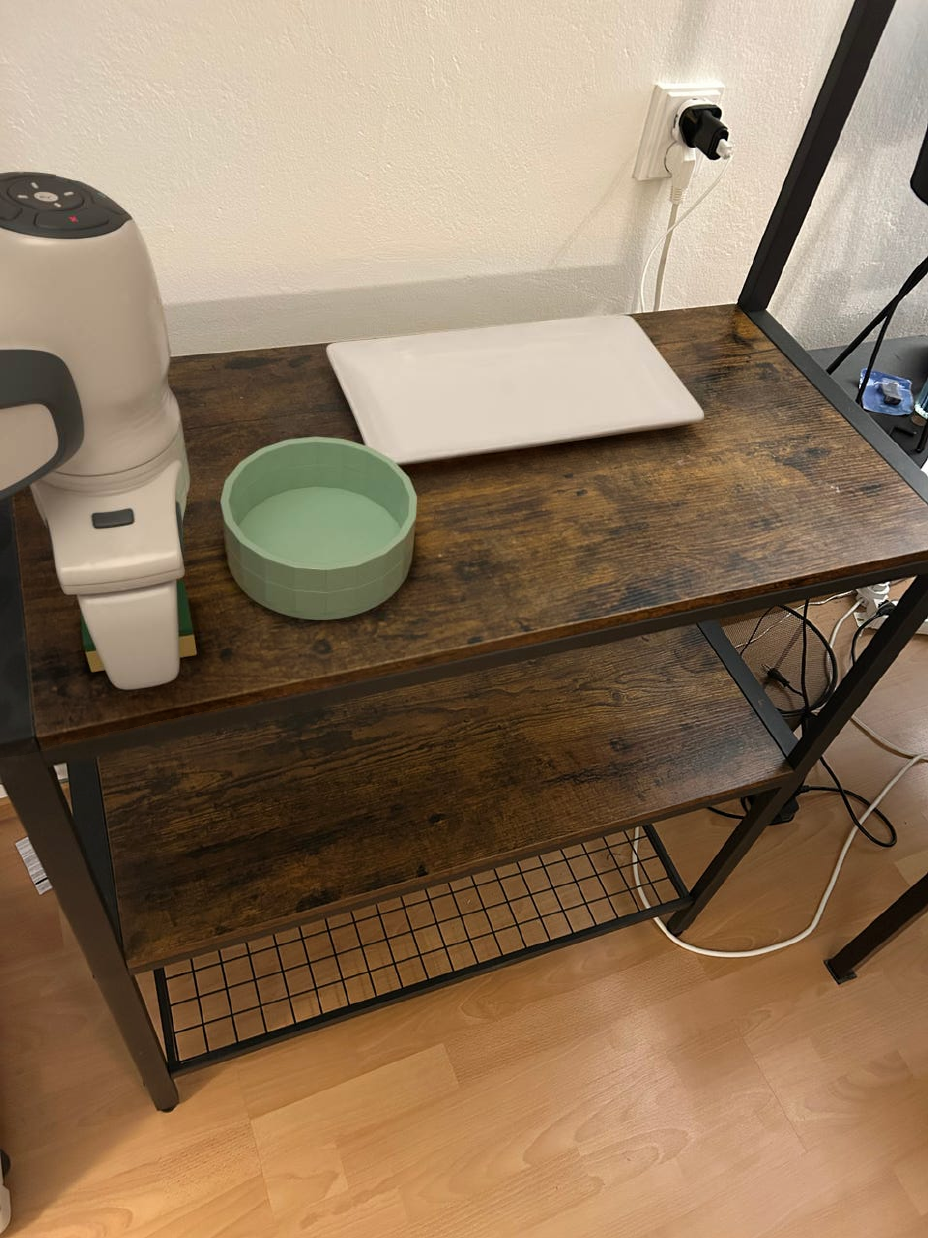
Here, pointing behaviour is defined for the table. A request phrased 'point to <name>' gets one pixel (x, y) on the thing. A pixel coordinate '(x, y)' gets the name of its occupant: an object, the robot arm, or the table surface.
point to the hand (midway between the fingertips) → (144, 618)
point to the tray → (508, 387)
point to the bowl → (318, 527)
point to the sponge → (184, 625)
